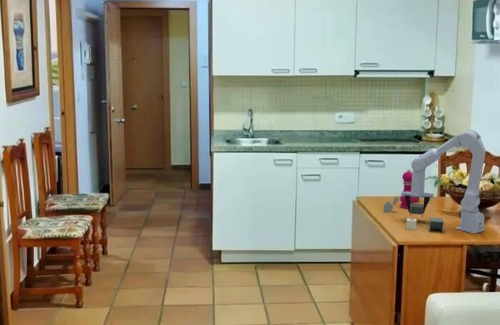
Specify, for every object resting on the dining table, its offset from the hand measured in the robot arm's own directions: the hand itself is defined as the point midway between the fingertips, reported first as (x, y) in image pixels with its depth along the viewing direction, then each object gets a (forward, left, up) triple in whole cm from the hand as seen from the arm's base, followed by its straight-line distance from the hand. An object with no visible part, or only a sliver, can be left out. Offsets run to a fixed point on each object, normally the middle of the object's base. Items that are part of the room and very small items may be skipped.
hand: (416, 212), depth 277 cm
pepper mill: (+20, -17, -4) cm, 27 cm away
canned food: (+28, -30, -4) cm, 41 cm away
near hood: (-15, +4, -4) cm, 16 cm away
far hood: (0, 0, -2) cm, 2 cm away
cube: (-7, +11, -4) cm, 13 cm away
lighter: (+18, -3, -4) cm, 19 cm away
